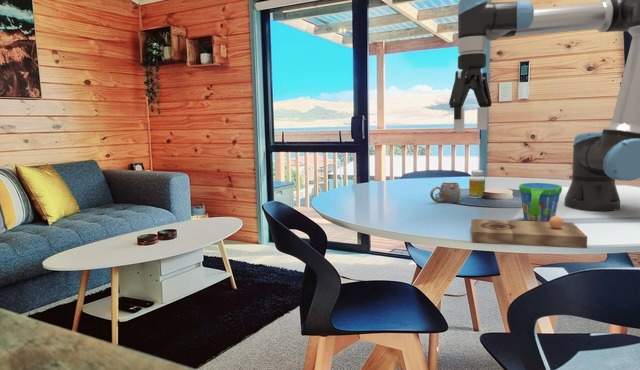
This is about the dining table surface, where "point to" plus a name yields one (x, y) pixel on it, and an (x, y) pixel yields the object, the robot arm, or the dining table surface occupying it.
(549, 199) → the snack cup
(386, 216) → the dining table surface
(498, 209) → the dining table surface
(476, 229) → the wooden board
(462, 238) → the dining table surface
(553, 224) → the ball
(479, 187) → the supplement bottle
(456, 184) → the mug
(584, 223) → the dining table surface
